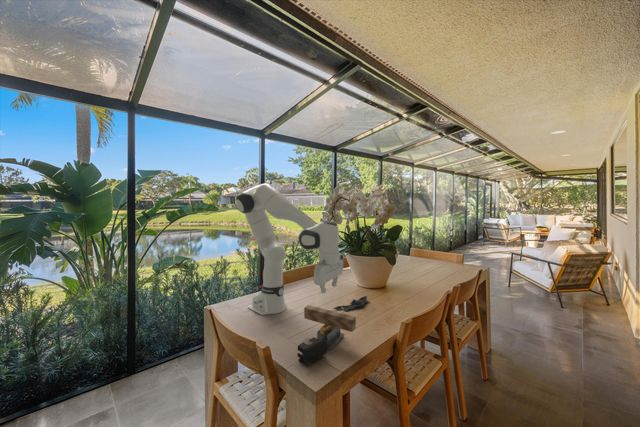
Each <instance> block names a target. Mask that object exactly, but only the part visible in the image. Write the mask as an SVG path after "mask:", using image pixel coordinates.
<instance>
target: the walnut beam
mask: <svg viewBox="0 0 640 427" xmlns="http://www.w3.org/2000/svg"><path fill="white" fill-rule="evenodd" d="M303 309H304V310H303V311H304V312H303V316H304V319H306V320H308V321H312V322H316V323H320V324H323V325H325V324H326V325H329V326H333V327H336V328H340V330H344V331H347V332H351V333H353V332H354V331H355V330H356V329H357V326H356V325H357V324H356V323H357V322H356V316H354V315H351V314H346V313H343V312H338V311H334V310H329V309H325V308H321V307H317V306H314V305H309V304H308V305H306V306H305V307H304V308H303Z"/></svg>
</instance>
